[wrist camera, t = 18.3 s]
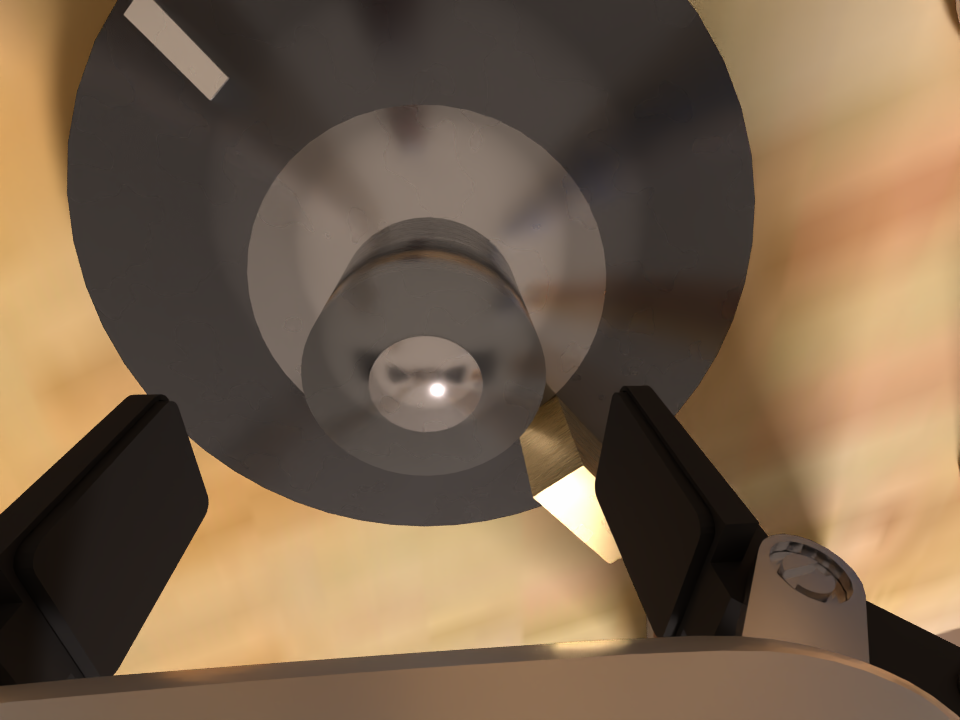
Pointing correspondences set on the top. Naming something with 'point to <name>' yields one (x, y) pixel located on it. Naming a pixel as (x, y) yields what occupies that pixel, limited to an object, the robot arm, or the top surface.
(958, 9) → the supplement tub
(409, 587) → the top surface
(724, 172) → the turntable
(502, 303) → the grey metallic short cylinder
